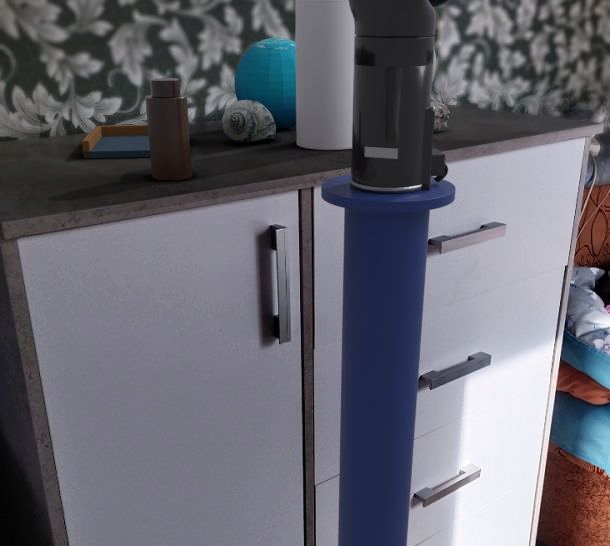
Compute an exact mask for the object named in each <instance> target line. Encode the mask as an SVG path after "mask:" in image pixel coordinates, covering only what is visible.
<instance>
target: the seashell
mask: <svg viewBox="0 0 610 546" xmlns="http://www.w3.org/2000/svg"><path fill="white" fill-rule="evenodd" d="M221 128H222V131H223V134H224V136H225V137H226V139H227V140H229V141H230V142H232V143H234V144H238V145H243V144H248V143H253V142H259V141H264V140H272V141H276V137H277V135H276V130H277V129H276V124H275V122H274V119H273V117H272V115H271V114H270V112H269V111H268V110H267V108H266V107H264V106H263V105H262V104H260V103H259V102H256V101H252V100H241V101H238V100H237V101H235V102H233V103H230V105H229V106H228V107H227V108H226V109H225V111H224V113H223V115H222V118H221Z"/></svg>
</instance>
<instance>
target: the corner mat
mask: <svg viewBox="0 0 610 546" xmlns="http://www.w3.org/2000/svg"><path fill="white" fill-rule="evenodd" d="M81 145H82V153H83V159H116V158H117V159H118V158H119V159H121V158H151V157H150V146H149V135H148V124H120V125H118V124H117V125H115V124H114V125H113V124H112V125H95V126H94V127H93V128H92V130H91V131H89V133H88V134H87V135H86V136H85V137H84V138H83V139H82V141H81Z"/></svg>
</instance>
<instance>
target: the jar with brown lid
mask: <svg viewBox="0 0 610 546" xmlns="http://www.w3.org/2000/svg"><path fill="white" fill-rule="evenodd" d="M149 82H150V83H149V84H150V93H151V94H150V95H145V97H144V100H145V110H146V111H145V113H146V122H147V124H146V125H148V135H149V146H150V157H149V158H150V167H151V177H152V179H154V180H157V181H165V182H166V181H167V182H169V181H170V182H172V181H184V180H187V179H190V178H192V177H193V167H192V152H191V151H192V149H191V136H190V123H189V122H190V121H189V109H188V108H189V107H188V96H187V95H185V94H181V86H180V85H181V84H180V78H177V77H157V78H156V77H155V78H151V79H149Z"/></svg>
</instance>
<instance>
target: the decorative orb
mask: <svg viewBox="0 0 610 546" xmlns="http://www.w3.org/2000/svg"><path fill="white" fill-rule="evenodd" d="M233 85H234V94H235V97H236V100H237V101H241V100H252V101H256V102H259V103H260V104H262V105H263V106H264V107H266V108H267V110H268V111H269V112H270V114H271V115H272V117H273V119H274V122H275V124H276V130H285V129H289V128H292V127H296V41H294V40H292V39H288V38H285V37H269V38H266V39H265V38H264V39H261V40H260V41H257V42H255V43H254V44H253V45H252V46H250V47H249V48H248V49H247V50H246V52H244V54H243V55H242V56H241V58H240V60H239V62H238V64H237V67H236V69H235V73H234V84H233Z"/></svg>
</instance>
